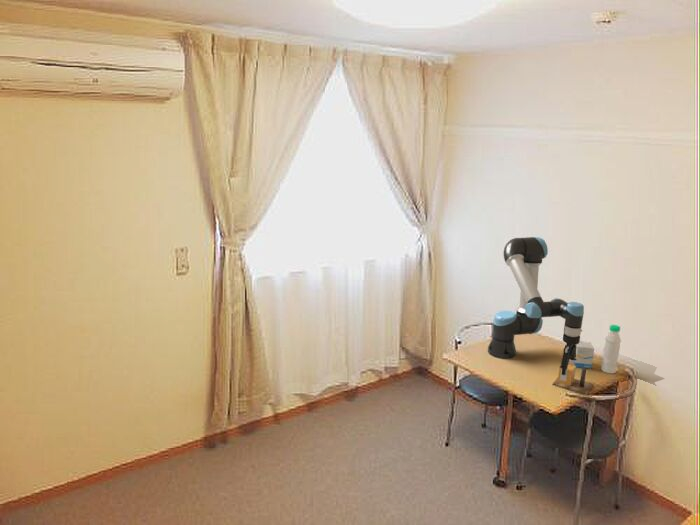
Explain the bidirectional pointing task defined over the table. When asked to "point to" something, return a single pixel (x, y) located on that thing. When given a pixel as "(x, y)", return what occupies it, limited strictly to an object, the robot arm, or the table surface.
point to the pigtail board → (577, 384)
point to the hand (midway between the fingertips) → (566, 376)
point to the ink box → (584, 355)
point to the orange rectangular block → (568, 375)
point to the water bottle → (611, 350)
